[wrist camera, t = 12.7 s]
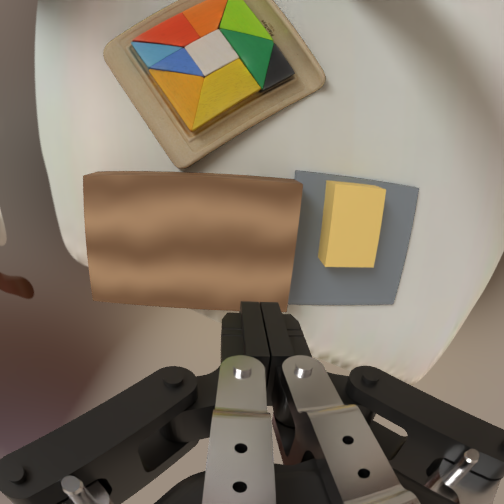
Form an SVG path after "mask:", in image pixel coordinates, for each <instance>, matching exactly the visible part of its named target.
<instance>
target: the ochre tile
mask: <svg viewBox="0 0 504 504" xmlns="http://www.w3.org/2000/svg"><path fill="white" fill-rule="evenodd" d="M385 195H386V189H384V188H381V187H378V186H375V185H368V184H359V183H350V182H340V181H329V180H326V190H325V200H324V209H323V218H322V227H321V235H320V243H319V251H318V258H319V259H320V261H321V262H322V263H323V265H324V266H325V267H373V268H374V263H375V258H376V252H377V247H378V241H379V235H380V229H381V223H382V216H383V209H384V202H385Z"/></svg>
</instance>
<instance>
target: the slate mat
mask: <svg viewBox="0 0 504 504" xmlns="http://www.w3.org/2000/svg"><path fill="white" fill-rule="evenodd" d="M295 180H297V181H298V182H300V183H302V184H303V191H302V199H301V208H300V216H299V225H298V233H297V241H296V248H295V256H294V263H293V271H292V278H291V285H290V292H289V299H288V304H294V305H381V304H393V303H394V300H395V296H396V293H397V289H398V285H399V282H400V278H401V274H402V270H403V266H404V262H405V257H406V253H407V249H408V244H409V239H410V235H411V230H412V225H413V219H414V214H415V209H416V203H417V197H418V190H419V188H416V187H410V186H405V185H399V184H393V183H387V182H381V181H375V180H368V179H361V178H354V177H347V176H339V175H332V174H323V173H315V172H306V171H295ZM326 180H329V181H340V182H350V183H359V184H368V185H375V186H378V187H381V188H384V189H386V195H385V202H384V209H383V216H382V223H381V229H380V235H379V241H378V247H377V252H376V258H375V263H374V268H373V267H325V266H324V265H323V263H322V262H321V261H320V259H319V258H318V251H319V243H320V235H321V227H322V218H323V209H324V200H325V190H326Z"/></svg>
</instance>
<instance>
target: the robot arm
mask: <svg viewBox="0 0 504 504" xmlns="http://www.w3.org/2000/svg"><path fill="white" fill-rule="evenodd" d="M267 406H273V411H274V412H273V417H272V425H273V429H274V432H275V436H276V440H277V443H278V447H279V451H280V454H281V458H282V461H283V465H281V464H274V458H273V441H272V425H271V415H270V413H267ZM375 414H378V415H380V416H382V417H384V418H385V419H387V420H389V421H391V422H393V423H394V424H396V425H398V426H400V427H402V428H403V429H405V431H406V432H407V434H408V436H406V437H403V436H400V435H398V434H397V433H395V432H393V431H391V430H389V429H388V428H386V427H384V426H382V425H380V424H379V423H377V422H375V421H373V419H374V417H375ZM208 437H210V439H209V448H208V456H207V465H206V471H204V472H200V473H197V474H194V475H192V476H190V477H188V478H186V479H184V480H182V481H181V482H179V483H178V484H176V485H175V486H174V487H173V488H171V489H170V490H169V491H168V492H167V493H166V494H165V495H163V496H162V497H161V498H160V499H159V500H158V501H157V502H155V503H154V504H492V503H493V501H494V498H495V495H496V492H497V489H498V486H499V483H500V480H501V478H503V477H504V430H503V429H501V428H499V427H497V426H494V425H492V424H490V423H488V422H486V421H483V420H481V419H479V418H477V417H475V416H472V415H470V414H468V413H466V412H464V411H462V410H460V409H458V408H456V407H453V406H451V405H449V404H447V403H445V402H443V401H441V400H439V399H437V398H435V397H433V396H431V395H429V394H427V393H425V392H423V391H421V390H419V389H417V388H415V387H413V386H411V385H409V384H407V383H405V382H403V381H401V380H399V379H397V378H395V377H393V376H391V375H389V374H387V373H385V372H383V371H382V370H380V369H377V368H375V367H371V366H359V367H356V368H354V369H353V370H352V371H351V373H350V375H349V376H343V375H337V374H332V373H328V372H326V370H325V368H324V366H323V365H322V363H321V362H319V361H318V360H316V359H315V358H312V356H311V353H310V350H309V348H308V345H307V343H306V340H305V337H304V335H303V332H302V331H301V327H300V324H299V322H298V320H296V319H295V318H294V317H293V316H292V315H291V314H282V312H281V309H280V306H279V303H278V302H260V303H259V302H252V301H241V302H240V312H239V313H227V314H226V315H225V316H224V318H223V319H222V332H221V365H220V366H219V368H218V369H217V370H215V371H214V372H212V373H210V374H207V375H203V376H197V377H196V376H195V375H194V374H193V373H192V372H191V371H189V370H188V369H186V368H182V367H176V366H170V367H165V368H161V369H159V370H158V371H156V372H154V373H153V374H151V375H149V376H148V377H146V378H144V379H143V380H141V381H139V382H138V383H136V384H134V385H133V386H131V387H129V388H128V389H126V390H124V391H123V392H121V393H119V394H118V395H116V396H114V397H113V398H111V399H109V400H108V401H106V402H104V403H102V404H100V405H99V406H97V407H95V408H93V409H92V410H90V411H88V412H86V413H85V414H83V415H81V416H79V417H78V418H76V419H74V420H72V421H71V422H69V423H67V424H65V425H63V426H62V427H60V428H58V429H56V430H54V431H52V432H50V433H49V434H47V435H45V436H43V437H41V438H39V439H37V440H35V441H34V442H31V443H30V444H28V445H26V446H24V447H22V448H20V449H18V450H16V451H14V452H12V453H10V454H8V455H6V456H4V457H3V458H2V459H0V491H2V493H4V495H5V496H7V498H9V499H10V500H11V501H12V503H13V504H121V503H123V502H124V501H125V500H127V499H128V498H130V497H131V496H132V495H134V494H135V493H137V492H138V491H139V490H141V489H142V488H143V487H145V486H146V485H147V484H149V483H150V482H151V481H153V480H154V479H155V478H156V477H158V476H159V475H160V474H161V473H163V472H164V471H165V470H167V469H168V468H169V467H170V466H171V465H173V464H174V463H175V462H177V461H178V460H179V459H180V458H181V457H183V456H184V455H185V454H186V453H187V452H189V451H190V450H191V449H192V448H193V447H195V446H196V445H197V443H198V441H199V440H200V439H204V438H208Z"/></svg>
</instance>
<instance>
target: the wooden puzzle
mask: <svg viewBox="0 0 504 504" xmlns="http://www.w3.org/2000/svg"><path fill="white" fill-rule="evenodd" d="M103 56H104V59H105V61H106V63H107V65H108V66H109V68H110V69H111V71H112V72H113V74H114V76H115V77H116V79H117V80H118V82H119V83H120V85H121V86H122V88H123V89H124V91H125V92H126V94H127V95H128V97H129V98H130V100H131V101H132V103H133V104H134V106H135V107H136V109H137V110H138V112H139V113H140V115H141V116H142V118H143V119H144V121H145V122H146V124H147V125H148V127H149V128H150V130H151V131H152V133H153V134H154V136H155V137H156V139H157V140H158V142H159V143H160V145H161V146H162V148H163V149H164V151H165V152H166V154H167V155H168V157H169V158H170V160H171V161H172V162H173V164H174V165H175V166H176V167H178V168H181V169H183V168H187V167H189V166H191V165H192V164H194V163H195V162H197V161H198V160H200V159H201V158H203V157H204V156H206V155H207V154H209V153H210V152H212V151H213V150H215V149H217V148H218V147H220V146H221V145H223V144H224V143H226V142H228V141H229V140H231V139H232V138H234V137H236V136H237V135H239V134H240V133H242V132H244V131H245V130H247V129H249V128H250V127H252V126H254V125H255V124H257V123H259V122H261V121H262V120H264V119H266V118H268V117H269V116H271V115H273V114H275V113H276V112H278V111H280V110H282V109H283V108H285V107H287V106H289V105H291V104H293V103H294V102H296V101H298V100H300V99H302V98H304V97H306V96H308V95H310V94H311V93H313V92H315V91H317V90H319V89H320V88H321V87H322V86H323V85H324V83H325V80H326V77H325V74H324V71H323V70H322V68H321V66H320V65H319V63H318V62H317V60H316V59H315V57H314V56H313V54H312V53H311V51H310V50H309V48H308V47H307V45H306V44H305V42H304V41H303V39H302V38H301V37H300V35H299V34H298V32H297V31H296V30H295V28H294V27H293V25H292V24H291V23H290V21H289V20H288V19H287V17H286V16H285V15H284V14H283V12H282V11H281V10H280V8H279V7H278V6H277V5H276V3H275V2H274V1H273V0H178V1H176V2H174V3H173V4H171V5H169V6H167V7H165V8H163V9H161V10H160V11H158V12H156V13H154V14H153V15H151V16H149V17H147V18H146V19H144V20H142V21H141V22H139V23H138V24H136V25H134V26H133V27H131V28H130V29H128V30H126V31H125V32H123V33H122V34H120V35H119V36H117V37H116V38H114V39H113V40H112V41H110V42H109V43H108V44H107V45H106V47H105V49H104V52H103Z"/></svg>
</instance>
